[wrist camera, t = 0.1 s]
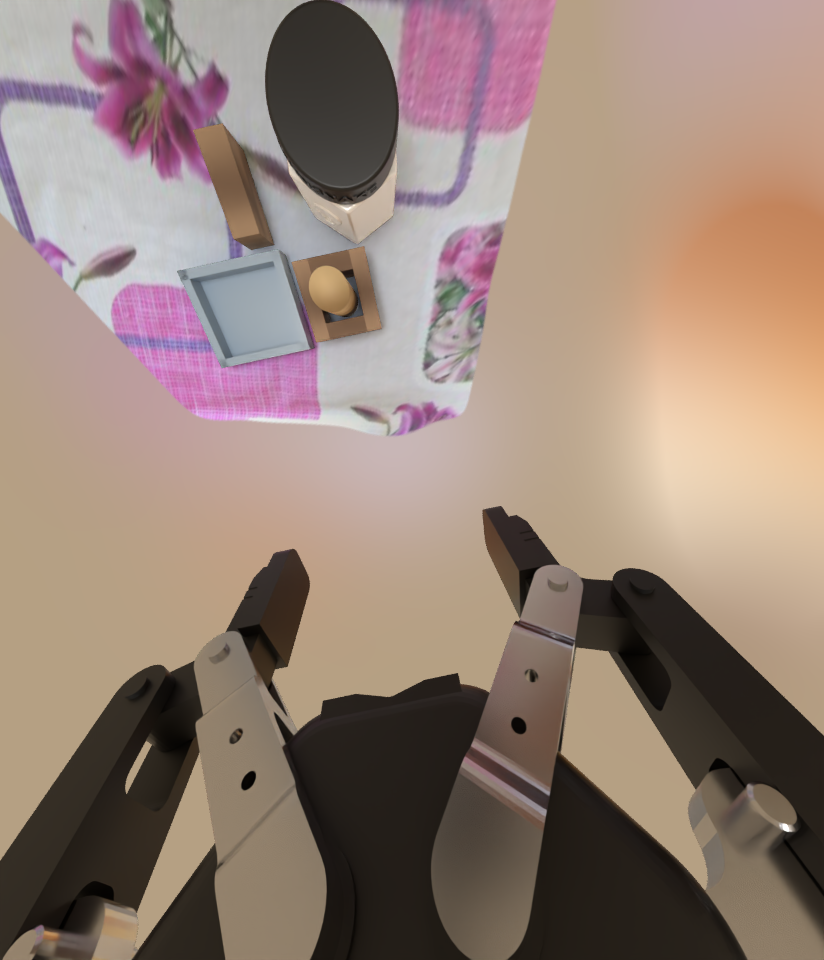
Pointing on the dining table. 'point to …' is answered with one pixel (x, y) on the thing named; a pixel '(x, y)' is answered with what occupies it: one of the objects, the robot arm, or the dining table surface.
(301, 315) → the tray
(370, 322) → the socket block
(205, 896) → the robot arm
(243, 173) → the block
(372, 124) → the jar
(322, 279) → the dowel
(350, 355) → the dining table surface
